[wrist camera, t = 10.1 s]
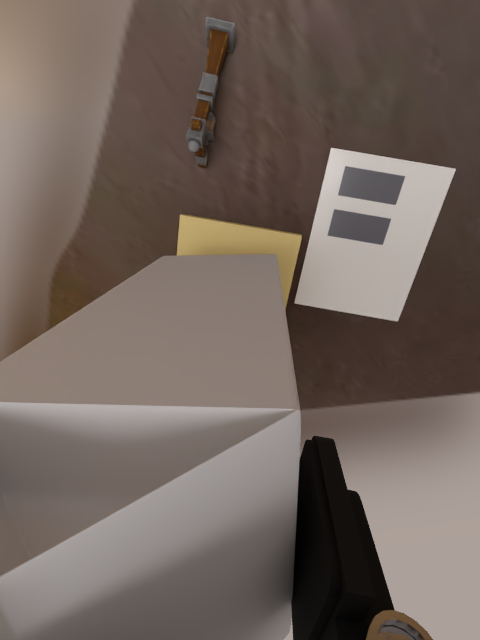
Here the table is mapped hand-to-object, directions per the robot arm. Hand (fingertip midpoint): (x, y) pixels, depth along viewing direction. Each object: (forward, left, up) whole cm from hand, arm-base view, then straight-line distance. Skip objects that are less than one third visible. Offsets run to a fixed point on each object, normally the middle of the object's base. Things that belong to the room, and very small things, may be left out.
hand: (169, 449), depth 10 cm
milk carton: (0, 0, -13) cm, 13 cm away
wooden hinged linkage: (+3, -13, -20) cm, 23 cm away
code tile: (-10, -5, -19) cm, 22 cm away
